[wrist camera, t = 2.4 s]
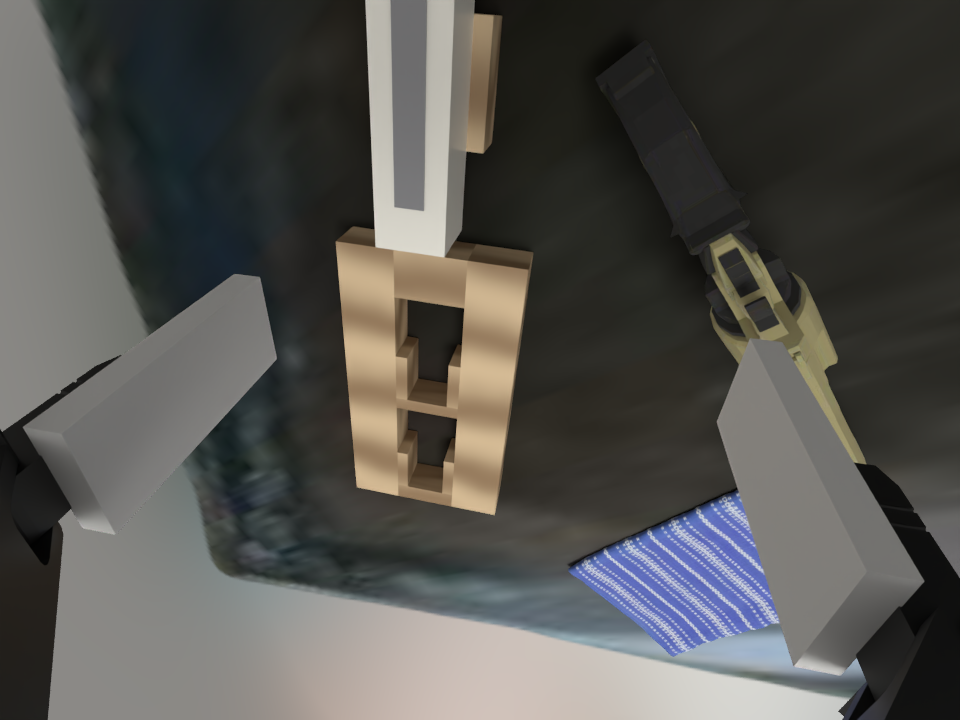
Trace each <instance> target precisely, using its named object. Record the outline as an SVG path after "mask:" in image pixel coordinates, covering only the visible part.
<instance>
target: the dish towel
mask: <svg viewBox="0 0 960 720" xmlns="http://www.w3.org/2000/svg"><path fill="white" fill-rule="evenodd" d="M568 571H569V572H570V573H571V574H572V575H573V576H575V577H577V578H579V579H580V580H582V581H583V582H584V583H585V584H586V585H587V586H589V587H590V588H591V589H593V590H594V591H595V592H597V593H598V594H600V595H601V596H602V597H603V598H605V599H606V600H607V601H609V602H610V603H611V604H612V605H614V606H615V607H616V608H617V609H619V610H620V611H621V612H622V613H624V614H625V615H627V616H628V617H629V618H631V619H632V620H633V621H634V622H636V623H637V624H638V625H639V626H640V627H641V628H643V629H644V630H645V631H646V632H647V633H648V634H649V635H650V636H651V637H652V638H653V639H654V640H655V641H656V642H657V643H658V644H659V645H661V646H662V647H663V648H664V649H665V650H666V651H667V652H668V653H669V654H670V655H671V656H673V657H674V656H676V655H678V654H680V653H682V652H686V651H690V650H692V649H693V648H695V647H697V646H699V645H700V644H702V643H706V642H711V641H713V640H715V639H717V638H722V637H725V636H733V635H736V634H739V633H743V632H746V631H749V630H755V629H758V628H764V627H766V626H768V625H769V624H775V623H780V621H779V618H778V615H777V612H776V609H775V606H774V602H773V599H772V596H771V593H770V590H769V586H768V583H767V580H766V577H765V574H764V571H763V567H762V564H761V561H760V558H759V555H758V552H757V548H756V545H755V542H754V539H753V536H752V532H751V529H750V526H749V523H748V520H747V517H746V513H745V510H744V507H743V504H742V501H741V497H740V494H739V491H738V490H736V491H734V492H732V493H728V494H726V495H724V496H721V497H719V498H717V499H715V500H712V501H710V502H708V503H706V504H704V505H701V506H698V507H696V508H695V509H693V510H691V511H689V512H687V513H683V514H682V515H679V516H676V517H674V518H671V519H670V520H668V521H666V522H664V523H661V524H660V525H657V526H655V527H652V528H649V529H647V530H646V531H643V532H641V533H639V534H636V535H634V536H630V537H628V538H625V539H624V540H622V541H620V542H616V543H615V544H613V545H611V546H609V547H606V548H604V549H602V550H601V551H599V552H596V553H594V554H592V555H590V556H588V557H586V558H584V559H583V560H581V561H580V562H578V563H576V564H575V565H573V566H571V567H570V568H569V569H568Z"/></svg>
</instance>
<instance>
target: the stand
mask: <svg viewBox="0 0 960 720" xmlns="http://www.w3.org/2000/svg"><path fill="white" fill-rule="evenodd" d="M501 28H502V16H500V15H489V14H478V13H474V25H473V42H472V59H471V77H470V94H469V112H468V129H467V147H466V151H467V152H475V153H484V152H485V151H486V150H487V148H488V147H489V146H490V145H491V143H492V136H493V124H494V112H495V100H496V88H497V76H498V64H499V52H500V40H501Z"/></svg>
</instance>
